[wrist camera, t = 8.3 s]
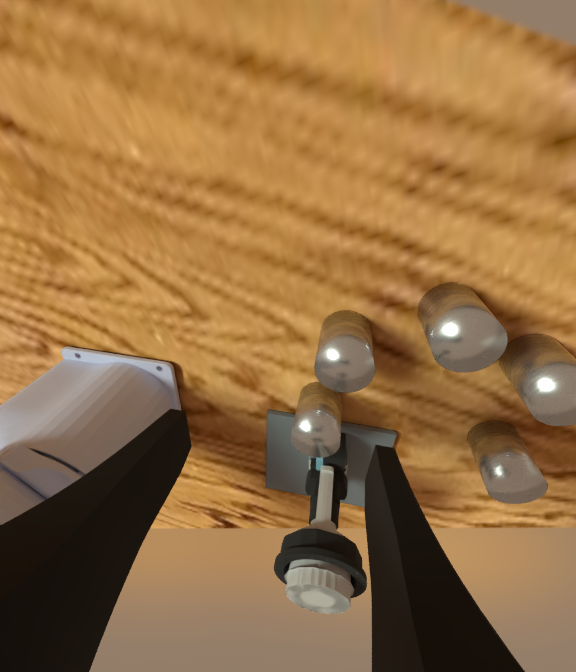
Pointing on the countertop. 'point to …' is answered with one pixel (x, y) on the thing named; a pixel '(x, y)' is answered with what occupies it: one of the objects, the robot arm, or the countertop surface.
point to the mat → (292, 466)
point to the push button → (322, 544)
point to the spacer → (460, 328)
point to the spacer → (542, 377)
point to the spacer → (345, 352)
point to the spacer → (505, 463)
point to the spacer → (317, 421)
